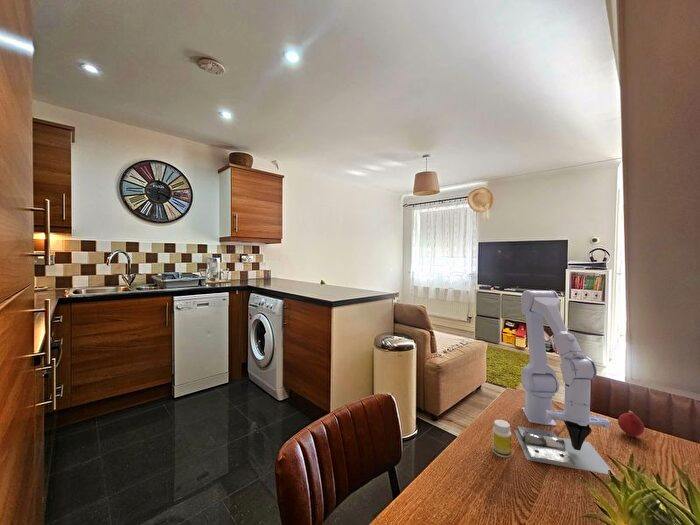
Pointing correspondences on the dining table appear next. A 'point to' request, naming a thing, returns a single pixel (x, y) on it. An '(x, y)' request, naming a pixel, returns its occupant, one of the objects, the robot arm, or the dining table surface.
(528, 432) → the fixed leaf
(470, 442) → the dining table surface
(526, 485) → the dining table surface
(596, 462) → the mat
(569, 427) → the robot arm
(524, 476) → the dining table surface
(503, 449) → the supplement bottle
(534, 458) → the loose leaf
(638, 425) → the onion
